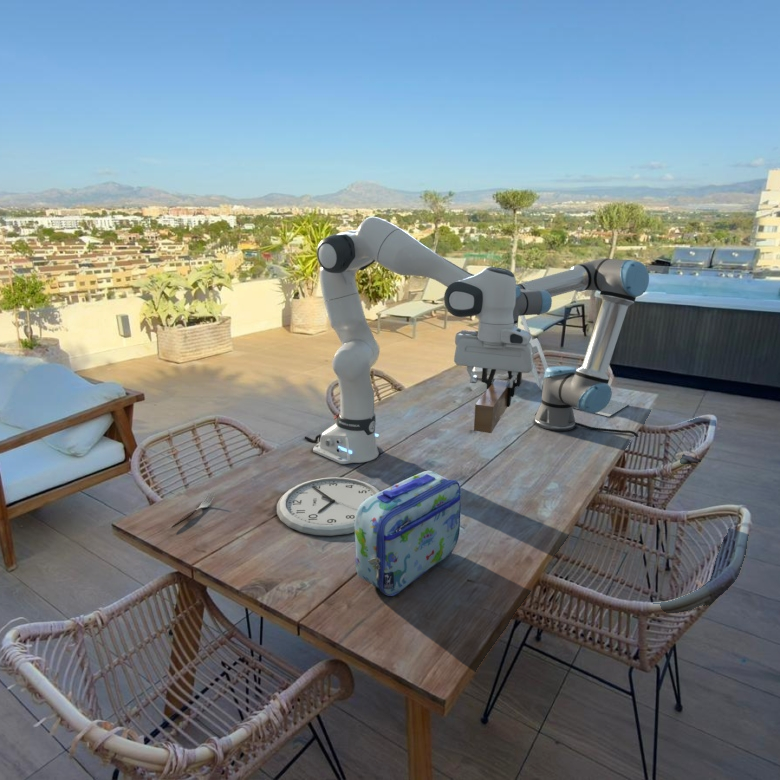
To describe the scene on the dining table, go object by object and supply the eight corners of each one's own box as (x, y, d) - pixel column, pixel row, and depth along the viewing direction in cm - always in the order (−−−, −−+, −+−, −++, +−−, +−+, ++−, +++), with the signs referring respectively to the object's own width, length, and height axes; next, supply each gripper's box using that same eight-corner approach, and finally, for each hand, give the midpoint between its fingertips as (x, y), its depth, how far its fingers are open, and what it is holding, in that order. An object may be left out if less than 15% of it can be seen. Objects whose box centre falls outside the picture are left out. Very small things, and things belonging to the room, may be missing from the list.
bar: (493, 402, 177) (495, 379, 174) (509, 404, 175) (511, 381, 173) (473, 430, 152) (475, 404, 150) (491, 433, 151) (493, 406, 148)
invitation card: (608, 416, 214) (573, 407, 224) (608, 416, 214) (573, 408, 224) (628, 404, 229) (594, 396, 238) (628, 405, 229) (594, 397, 238)
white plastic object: (488, 419, 266) (468, 396, 241) (469, 346, 288) (449, 319, 263) (559, 395, 254) (545, 368, 229) (533, 321, 276) (519, 290, 251)
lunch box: (383, 609, 104) (384, 516, 98) (348, 583, 111) (347, 495, 105) (463, 555, 122) (469, 473, 115) (429, 536, 129) (432, 458, 123)
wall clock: (392, 527, 129) (268, 531, 127) (391, 533, 130) (269, 537, 127) (383, 473, 158) (282, 475, 155) (383, 478, 158) (282, 480, 156)
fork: (167, 528, 130) (166, 521, 130) (209, 498, 145) (208, 492, 144) (175, 530, 130) (174, 523, 129) (216, 500, 144) (216, 494, 143)
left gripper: (452, 331, 134) (449, 383, 138) (534, 338, 127) (528, 392, 131) (458, 327, 140) (456, 377, 144) (537, 334, 133) (531, 386, 137)
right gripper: (473, 335, 166) (469, 404, 173) (532, 340, 159) (525, 411, 166) (479, 330, 172) (475, 397, 180) (535, 335, 166) (529, 404, 173)
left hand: (491, 384), depth 138 cm, fingers open, 8 cm apart
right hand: (499, 404), depth 173 cm, fingers closed on bar, 5 cm apart
